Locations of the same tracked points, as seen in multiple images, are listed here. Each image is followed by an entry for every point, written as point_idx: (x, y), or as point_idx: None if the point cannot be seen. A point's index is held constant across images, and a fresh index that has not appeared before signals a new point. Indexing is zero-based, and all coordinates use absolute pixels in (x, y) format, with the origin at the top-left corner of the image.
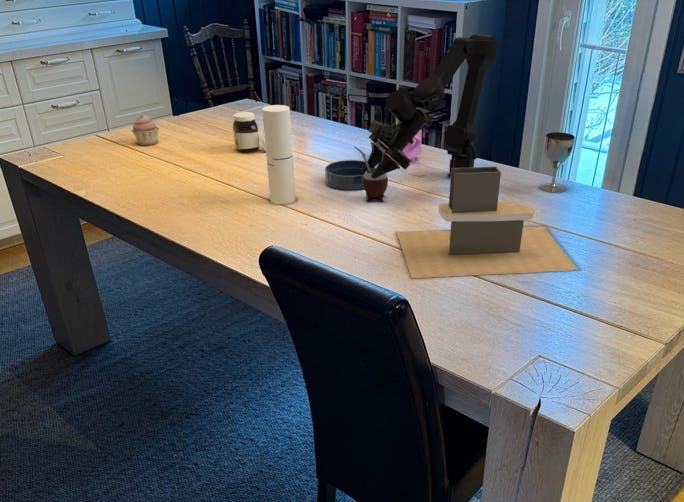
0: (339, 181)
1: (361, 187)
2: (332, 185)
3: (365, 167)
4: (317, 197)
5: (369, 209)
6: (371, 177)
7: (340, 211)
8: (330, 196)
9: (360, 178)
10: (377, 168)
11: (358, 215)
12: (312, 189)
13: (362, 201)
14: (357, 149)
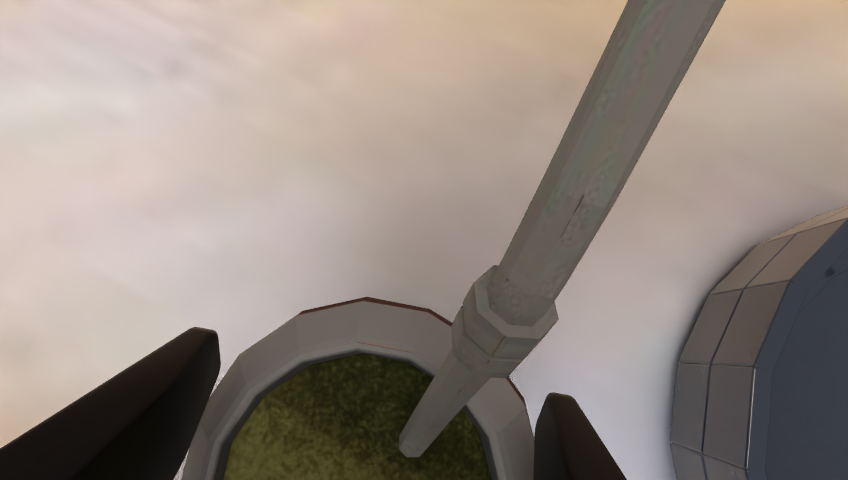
0: (793, 240)
1: (674, 440)
2: (825, 214)
3: (554, 417)
4: None
5: (198, 261)
6: (253, 355)
7: (291, 45)
8: None
9: (727, 446)
10: (42, 426)
11: (139, 123)
12: (843, 67)
13: (393, 299)
14: (600, 70)
